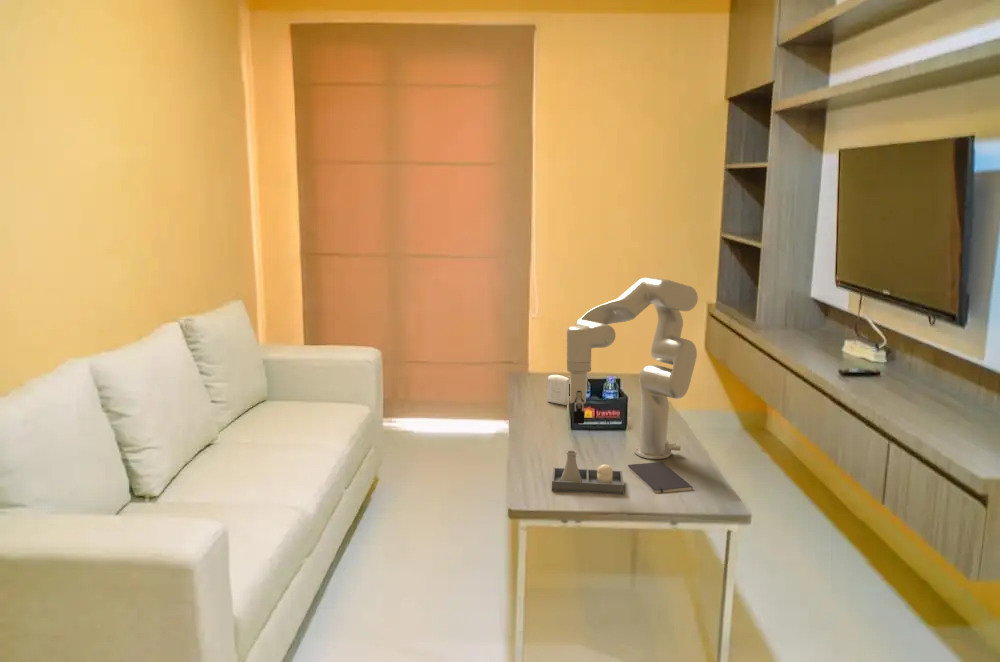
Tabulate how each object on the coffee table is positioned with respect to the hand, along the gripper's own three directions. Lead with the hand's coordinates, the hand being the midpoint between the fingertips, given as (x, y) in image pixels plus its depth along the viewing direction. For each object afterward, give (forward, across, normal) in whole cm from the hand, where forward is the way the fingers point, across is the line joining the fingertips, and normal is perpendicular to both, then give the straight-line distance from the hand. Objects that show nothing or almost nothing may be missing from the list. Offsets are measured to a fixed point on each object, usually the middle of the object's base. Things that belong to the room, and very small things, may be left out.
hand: (578, 417), depth 226 cm
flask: (+20, +6, -2) cm, 21 cm away
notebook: (+22, -2, +26) cm, 34 cm away
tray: (+20, +6, +3) cm, 21 cm away
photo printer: (+22, -82, -8) cm, 86 cm away
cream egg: (+20, +6, +8) cm, 22 cm away
